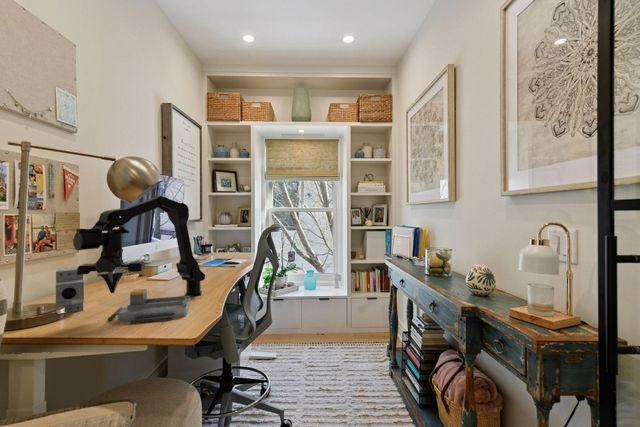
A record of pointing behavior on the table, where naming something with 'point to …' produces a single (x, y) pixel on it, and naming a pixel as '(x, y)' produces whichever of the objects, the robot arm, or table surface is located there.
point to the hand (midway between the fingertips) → (112, 292)
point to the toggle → (138, 296)
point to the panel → (156, 308)
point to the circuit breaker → (69, 289)
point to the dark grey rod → (114, 314)
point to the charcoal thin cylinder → (150, 319)
